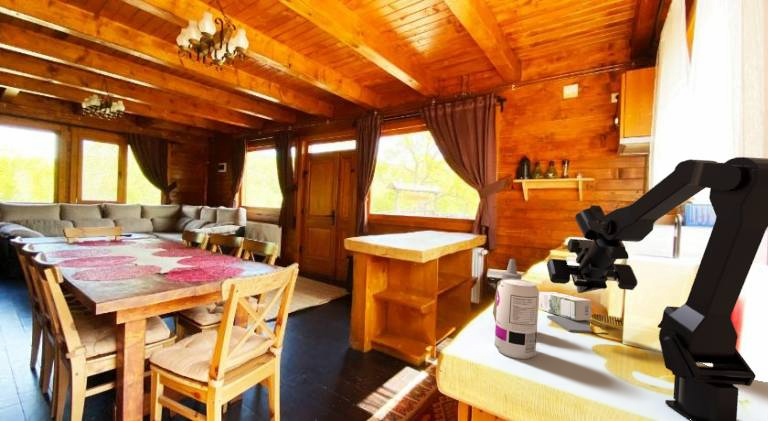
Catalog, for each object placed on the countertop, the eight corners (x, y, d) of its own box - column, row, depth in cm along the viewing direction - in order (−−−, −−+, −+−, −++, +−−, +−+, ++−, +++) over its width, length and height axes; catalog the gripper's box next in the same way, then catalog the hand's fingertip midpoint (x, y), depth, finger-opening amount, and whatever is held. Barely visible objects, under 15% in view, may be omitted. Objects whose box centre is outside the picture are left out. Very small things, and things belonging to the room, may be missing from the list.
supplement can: (487, 350, 69) (491, 280, 69) (504, 340, 75) (508, 276, 75) (526, 364, 63) (530, 288, 63) (541, 353, 69) (545, 283, 69)
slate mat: (607, 333, 83) (607, 331, 83) (569, 331, 83) (569, 329, 83) (580, 319, 94) (580, 317, 94) (547, 317, 94) (547, 315, 94)
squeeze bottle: (485, 325, 84) (489, 257, 84) (507, 322, 88) (511, 256, 88) (509, 336, 77) (513, 262, 77) (532, 333, 81) (536, 261, 80)
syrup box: (591, 299, 91) (553, 291, 105) (574, 299, 89) (537, 291, 103) (592, 320, 90) (553, 309, 104) (575, 321, 89) (537, 309, 103)
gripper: (633, 232, 78) (608, 269, 89) (551, 227, 82) (536, 263, 92) (652, 270, 70) (622, 305, 81) (560, 262, 74) (543, 298, 85)
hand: (578, 291), depth 85 cm, fingers closed
